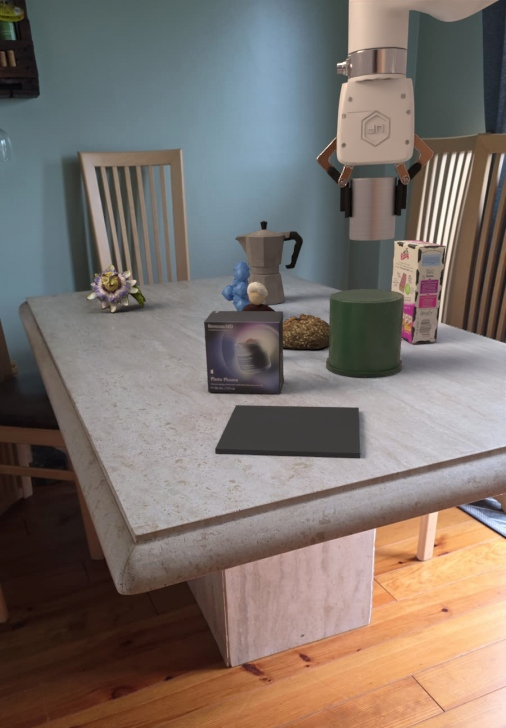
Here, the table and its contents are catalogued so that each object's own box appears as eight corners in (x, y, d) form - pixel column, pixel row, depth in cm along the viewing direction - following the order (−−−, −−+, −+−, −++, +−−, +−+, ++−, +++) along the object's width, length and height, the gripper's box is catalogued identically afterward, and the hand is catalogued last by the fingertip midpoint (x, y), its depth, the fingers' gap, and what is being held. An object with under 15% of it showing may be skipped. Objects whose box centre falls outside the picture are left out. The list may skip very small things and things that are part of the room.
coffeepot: (236, 306, 144) (233, 223, 136) (239, 298, 152) (236, 220, 145) (303, 304, 143) (303, 221, 135) (302, 296, 151) (302, 218, 144)
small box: (206, 394, 88) (201, 320, 84) (215, 379, 94) (210, 310, 90) (280, 395, 87) (279, 320, 82) (284, 380, 92) (284, 310, 88)
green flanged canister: (399, 356, 102) (404, 287, 98) (404, 378, 92) (410, 302, 87) (327, 355, 104) (328, 288, 99) (324, 377, 93) (325, 303, 89)
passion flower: (117, 335, 144) (80, 297, 137) (113, 317, 153) (78, 280, 145) (155, 305, 142) (120, 265, 135) (148, 289, 151) (115, 250, 144)
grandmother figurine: (236, 364, 101) (232, 284, 96) (236, 357, 105) (232, 280, 99) (283, 362, 101) (282, 282, 96) (281, 355, 105) (280, 278, 99)
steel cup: (393, 235, 92) (395, 176, 89) (395, 239, 86) (398, 176, 83) (349, 236, 93) (350, 178, 90) (349, 241, 87) (350, 178, 84)
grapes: (223, 316, 134) (220, 258, 130) (254, 314, 134) (253, 257, 130) (222, 328, 124) (218, 266, 119) (255, 327, 124) (253, 265, 119)
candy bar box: (438, 343, 109) (447, 245, 102) (411, 345, 108) (418, 246, 101) (412, 328, 119) (419, 238, 112) (387, 330, 118) (392, 240, 111)
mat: (358, 411, 80) (358, 407, 80) (359, 457, 67) (360, 452, 67) (236, 409, 82) (235, 404, 82) (215, 453, 70) (214, 448, 69)
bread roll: (321, 353, 105) (321, 324, 103) (255, 347, 110) (254, 319, 108) (344, 335, 116) (344, 308, 114) (282, 331, 120) (282, 305, 118)
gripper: (308, 70, 79) (309, 220, 86) (449, 60, 76) (438, 215, 84) (312, 78, 86) (312, 216, 93) (441, 69, 83) (432, 212, 90)
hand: (372, 215), depth 88 cm, fingers closed on steel cup, 6 cm apart
